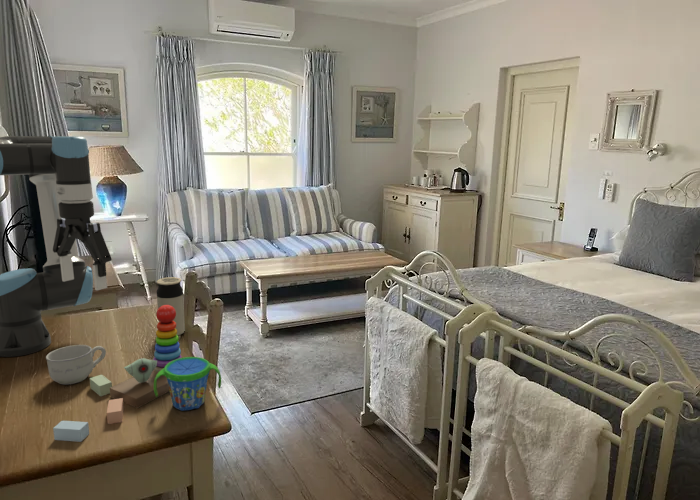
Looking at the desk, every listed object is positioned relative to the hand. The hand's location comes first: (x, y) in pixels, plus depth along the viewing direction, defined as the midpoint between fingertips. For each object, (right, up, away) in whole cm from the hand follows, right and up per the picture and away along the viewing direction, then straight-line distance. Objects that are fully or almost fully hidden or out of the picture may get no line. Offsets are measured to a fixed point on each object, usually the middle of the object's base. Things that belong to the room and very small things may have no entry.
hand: (84, 284), depth 129 cm
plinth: (+15, -27, +1) cm, 31 cm away
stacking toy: (+16, -25, +13) cm, 33 cm away
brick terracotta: (+13, -30, -10) cm, 34 cm away
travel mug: (+9, -19, +39) cm, 44 cm away
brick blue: (+7, -32, -18) cm, 38 cm away
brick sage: (+4, -27, +1) cm, 28 cm away
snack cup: (+28, -29, -4) cm, 41 cm away
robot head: (+15, -25, 0) cm, 29 cm away
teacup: (-5, -26, +8) cm, 27 cm away
